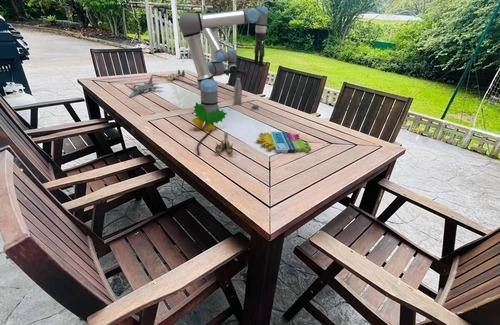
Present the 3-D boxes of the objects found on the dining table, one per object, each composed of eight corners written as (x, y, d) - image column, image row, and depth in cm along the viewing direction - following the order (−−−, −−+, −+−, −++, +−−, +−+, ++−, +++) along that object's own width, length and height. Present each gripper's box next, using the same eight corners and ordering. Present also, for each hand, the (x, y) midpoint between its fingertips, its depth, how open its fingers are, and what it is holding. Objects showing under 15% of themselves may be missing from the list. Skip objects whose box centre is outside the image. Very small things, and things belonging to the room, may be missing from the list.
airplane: (123, 87, 237) (120, 75, 231) (158, 84, 250) (157, 74, 245) (127, 99, 208) (125, 87, 203) (167, 96, 221) (166, 84, 216)
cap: (257, 109, 204) (257, 106, 203) (251, 109, 205) (251, 105, 204) (258, 108, 208) (258, 105, 207) (253, 107, 209) (253, 104, 208)
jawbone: (234, 135, 144) (233, 125, 135) (233, 160, 138) (232, 151, 129) (217, 135, 144) (216, 125, 135) (216, 160, 138) (214, 150, 129)
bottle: (235, 102, 218) (236, 77, 208) (242, 103, 217) (243, 78, 207) (232, 104, 213) (233, 78, 203) (239, 105, 211) (240, 79, 202)
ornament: (218, 133, 171) (224, 110, 169) (221, 134, 163) (227, 111, 161) (186, 125, 162) (192, 101, 160) (189, 126, 155) (195, 101, 153)
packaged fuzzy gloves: (313, 150, 142) (258, 149, 139) (312, 153, 143) (258, 152, 140) (301, 132, 164) (254, 130, 161) (301, 134, 165) (254, 133, 162)
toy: (193, 70, 288) (180, 75, 262) (193, 77, 292) (181, 82, 266) (170, 68, 293) (155, 72, 267) (170, 75, 297) (156, 79, 271)
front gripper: (270, 34, 170) (267, 68, 181) (261, 31, 192) (259, 62, 202) (259, 33, 169) (257, 67, 179) (251, 31, 190) (249, 62, 200)
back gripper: (246, 74, 236) (251, 79, 217) (219, 73, 231) (221, 79, 213) (247, 65, 232) (251, 70, 214) (219, 64, 227) (221, 69, 209)
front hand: (258, 65), depth 191 cm, fingers open, 13 cm apart
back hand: (236, 74), depth 213 cm, fingers open, 13 cm apart
